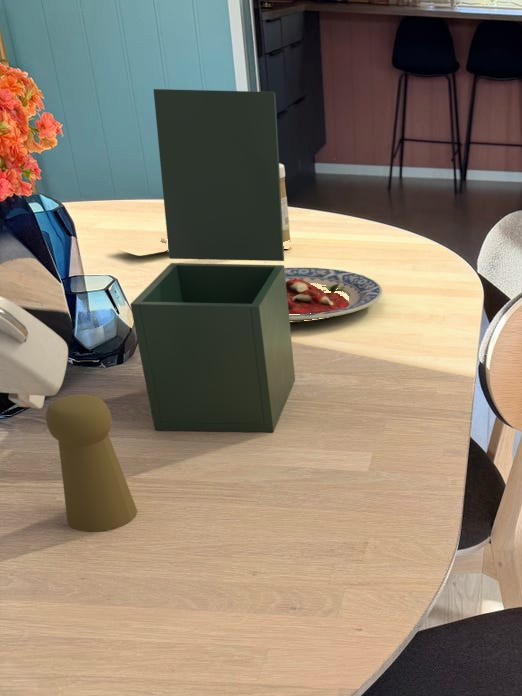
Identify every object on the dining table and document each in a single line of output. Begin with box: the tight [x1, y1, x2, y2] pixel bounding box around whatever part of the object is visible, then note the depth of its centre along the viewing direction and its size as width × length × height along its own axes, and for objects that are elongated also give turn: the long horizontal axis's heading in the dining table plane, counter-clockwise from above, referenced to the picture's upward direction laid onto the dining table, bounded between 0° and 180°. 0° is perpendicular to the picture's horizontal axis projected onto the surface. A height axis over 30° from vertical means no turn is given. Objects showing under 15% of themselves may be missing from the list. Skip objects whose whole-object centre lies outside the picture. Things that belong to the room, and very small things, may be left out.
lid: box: [153, 88, 285, 262], centre depth 102 cm, size 17×13×1 cm
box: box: [129, 262, 296, 433], centre depth 103 cm, size 16×13×13 cm
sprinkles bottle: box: [279, 162, 291, 242], centre depth 161 cm, size 5×5×13 cm
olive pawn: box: [45, 393, 138, 532], centre depth 82 cm, size 6×6×11 cm
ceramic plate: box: [284, 267, 383, 321], centre depth 137 cm, size 26×26×3 cm
